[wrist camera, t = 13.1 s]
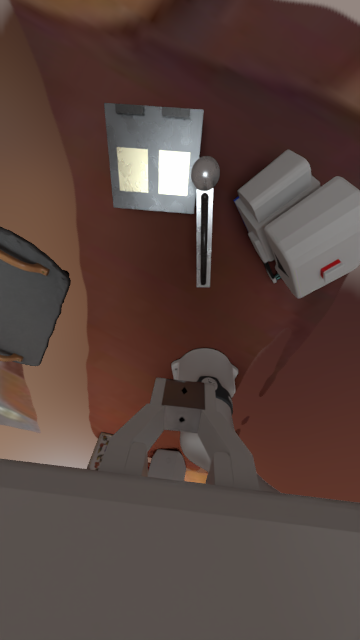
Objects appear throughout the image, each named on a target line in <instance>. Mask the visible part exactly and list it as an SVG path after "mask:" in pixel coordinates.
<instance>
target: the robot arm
mask: <svg viewBox="0 0 360 640" xmlns="http://www.w3.org/2000/svg"><path fill="white" fill-rule="evenodd" d="M171 367H172V372H173V377H174V380H173V379H165V378H156V380H155V385H154V389H153V393H152V397H151V401H150V404H146V405H145V406H144V407H143V408H142V409H141V410H140V411H139V412H138V413H137V414H135V415H134V416H133V417H132V418H131V419H130V420H129V421H128V422H127V423H126V424H125V425H124V426H123V427H122V428H120V429H119V430H118V431H117V432H116V433H115V434H114V435H113V436H112V437H111V438H110V440H109V443H108V445H107V448H106V451H105V453H104V456H103V459H102V461H101V464H100V467H99V469H98V471H97V470H88V469H80V468H72V467H64V466H56V465H48V464H40V463H31V462H23V461H15V460H7V459H0V640H360V503H357V502H348V501H341V500H332V499H324V498H316V497H308V496H300V495H292V494H283V493H280V492H279V491H278V490H276V489H275V488H273V487H272V486H270V485H269V484H268V483H266V482H265V481H264V480H263V479H262V478H261V477H260V476H259V475H258V474H257V473H256V469H255V464H254V460H253V455H252V454H251V453H250V451H249V450H248V449H247V447H246V446H245V445H244V443H243V442H242V440H241V439H240V438H239V436H238V435H237V434H236V433H235V430H234V426H233V420H232V413H233V410H232V409H233V404H232V400H231V398H232V397H233V395H234V394H235V382H234V379H235V378H236V376H237V374H238V369H237V368H236V367H235V366H233V365H232V364H231V363H230V361H229V360H228V358H227V357H226V356H225V355H224V354H222V353H221V352H219V351H217V350H214V349H208V348H201V349H196V350H192V351H190V352H188V353H187V354H185V355H184V356H183V357H182V358H181V359H179V360H176V361H174V362H172V364H171ZM176 368H177V369H176ZM163 430H174V431H181V433H180V445H181V448H182V451H183V453H184V454H185V456H186V457H187V458H188V459H189V460H190V461H191V462H193V463H194V464H196V465H197V466H199V467H201V468H203V469H205V470H206V471H207V472H208V476H207V479H206V484H203V483H194V482H186V481H178V480H170V479H162V478H154V477H148V460H147V452H148V450H149V449H150V448H151V447H152V445H153V444H154V443H155V441H156V440H157V439H158V437H159V436H160V435H161V433H162V432H163Z"/></svg>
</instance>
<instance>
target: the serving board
mask: <svg viewBox="0 0 360 640" xmlns="http://www.w3.org/2000/svg"><path fill="white" fill-rule="evenodd" d="M70 281H71V280H70V278H69V273H68V271H65V270H62V269H61V268H60V267H59V266H58V265H57V264H56V263H55V262H54V261H53V260H52V259H51V258H50V257H49V256H47V255H46V254H45V253H44V252H42V251H41V250H39V249H38V248H37V247H36V246H35V245H34V244H32V243H30V242H29V241H27V240H25V239H24V238H22V237H20V236H18V235H17V234H15V233H13V232H12V231H10V230H7V229H4V228H2V227H0V361H4V362H7V361H13V362H17V363H21V364H25V365H30V366H38V365H40V364H41V361H42V358H43V356H44V353H45V350H46V349H47V347H48V342H49V338H50V337H51V335H52V333H53V331H54V328H55V324H56V321H57V319H58V317H59V315H60V314H61V307H62V304H63V303H64V299H65V297H66V294H67V292H68V289H69V286H70Z"/></svg>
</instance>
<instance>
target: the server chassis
mask: <svg viewBox="0 0 360 640" xmlns="http://www.w3.org/2000/svg"><path fill="white" fill-rule="evenodd" d="M104 107H105V118H106V129H107V140H108V150H109V161H110V172H111V183H112V194H113V205H114V207H116V208H128V209H140V210H152V211H164V212H176V213H188V214H194V210H195V200H196V189H197V188H196V187H195V186H194V184H193V182H192V179H191V170H192V167H193V165H194V163H195V162H196V161H197V160H198V159H199V157H200V146H201V135H202V125H203V111H204V110H198V109H183V108H169V107H155V106H141V105H127V104H112V103H104Z"/></svg>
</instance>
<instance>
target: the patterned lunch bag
mask: <svg viewBox="0 0 360 640" xmlns="http://www.w3.org/2000/svg"><path fill="white" fill-rule="evenodd" d="M112 436H113V435H112V434H108V433H104V432H101V434H100V436H99V439H98V441H97V444H96V446H95V449H94V451H93V454H92V456H91V459H90V462H89V464H88V467H87V469H88V470H97V471H98V469H99V467H100V464H101V461H102V459H103V456H104V453H105V451H106V448H107V445H108V443H109V440H110V438H111V437H112Z"/></svg>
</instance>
